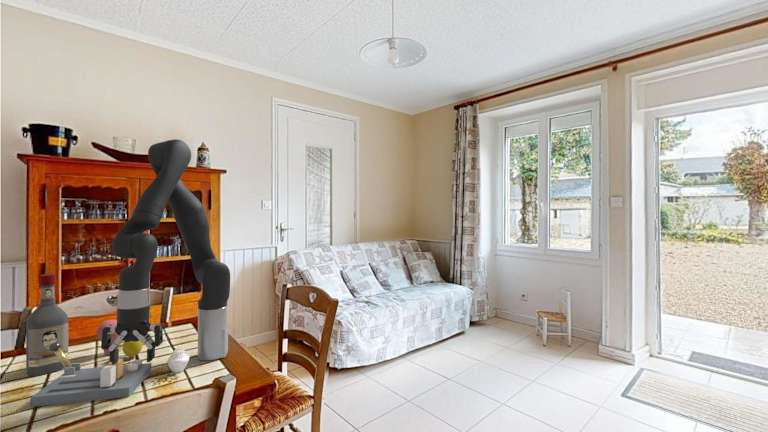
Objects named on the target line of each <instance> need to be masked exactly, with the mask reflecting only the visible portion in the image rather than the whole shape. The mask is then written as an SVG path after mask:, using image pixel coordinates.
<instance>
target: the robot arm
mask: <svg viewBox="0 0 768 432" xmlns="http://www.w3.org/2000/svg"><path fill="white" fill-rule="evenodd" d="M147 156H148V157H147V158H148V161H149V163H150V166H151V167H152V170H153V173H155V175H156V176H155V178H154V180H152V182H151V183H150V184H149V185H148V186H147V187H146V188H145V190H144V191H143V192H142V194H141V195H140V196H139V199H138V201H137V202H136V205H135V207H134V209H133V212H132V215H130V216H131V217H130V218H129V219H128V220H127V221H126V222H125V223H124V225H123V226H122V227H121V229H120V230H118V232H117V233H116V235H115V236H114V238H113V241H112V244H111V245H112V246H111V247H112V248H111V249H112V252H113V255H115V256H116V257H118V258H121V259H136V260H135V262H134V264H133V265H131V266H128V267H123V268H122V269H120V270H119V275H118V293H117V299H116V320H117V326H112V325H108V326H106V327H105V328H103V332H102V342H100V343H101V344H100V348H101V350H104V349H107V350H109V351H110V354H109V363H110V362H112V364H116V363H117V362H118V359H119V355H120V354H119V353H120V351H119V350H120V349H119V348H118V347H119V346H120V345H121V343H123V342H124V341H125V342H129V341H134V342H136V341H139V340H140V341H141V342H142V345H144V346H145V347H146V348H147V349H146V363H152V361H153V359H154V358H155V357H156V347H160V345H162V344H163V342H164V336H163V334H164V333H163V331H164V330H163V323H161V322H158V323H157V324H151V323H150V318H151V317H150V316H151V314H150V313H151V292H150V278H151V276H150V275H151V270H152V269H153V268H152V267H153V265H154V261H155V258H156V255H157V252H158V249H159V244H158V240H157V238H156V237H155V236H154V235H153V234H151V233H145V232H147V231H150V230H155V229H156V228H158V227H159V225H160V222H161V219H162V217H163V214H164V212H165V209H166V206H167V204H169V206H170V209H171V211H172V214H173V215H172V216H173V218H174V220H175V222H176V226H177V228H178V230H179V232H180V235H181V237H182V239H183V242H184V245H185V247H186V249H187V251H188V254H189V257H190V261H191V264H192V268H193V272H194V276H195V278H196V281H197V282H198V284H200V285H201V286H202V288H201V290H202V291H201V297H200V298H199V299H198V302H197V359H198V360H201V361H214V360H218V359H223V358H226V356H227V355H228V352H229V325H228V300H229V298H230V291H231V290H230V289H231V271H230V268H229V267H228V265H227V264H225V263H224V262H221V261H218V259H217V258H216V256H215V253H214V251H213V249H212V246H211V240H210V239H211V237H210V224H209V220H208V216H207V214H206V210H205V209H204V208H205V207H204V205H203V204H202V203H201V201H200V199H198V197H197V196H195V195H194V194H193V192H191V191H190V190H189V189H188V188H187V187H186V185H185V184H184V183H183V181H182V179H181V178H182V176H183V174H184V172H185V171H186V170H187V168H188V166H189V164H190V162H191V160H192V152H191V149H190V147H189V145H188V144H187V143H186V142H185V141H183V140H181V139H170V140H164V141H161V142H157V143H154V144H152V145H150V147H149V148H148V151H147ZM114 331H115V332H116V333H117V334H118V335H119V337H118V338H117V339H116V340H115V341H114V342H113V344H112V343H111V336H112V333H114ZM150 331H152V333H154V339H153V338H152V336H151V334H150Z"/></svg>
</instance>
